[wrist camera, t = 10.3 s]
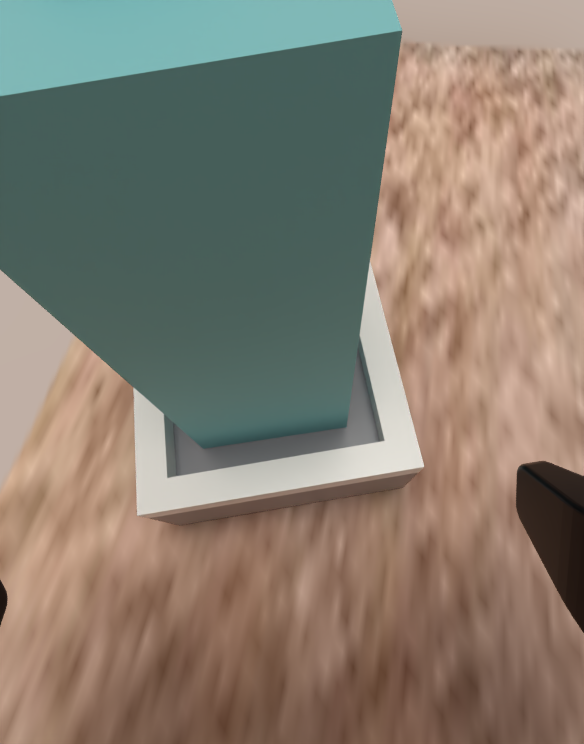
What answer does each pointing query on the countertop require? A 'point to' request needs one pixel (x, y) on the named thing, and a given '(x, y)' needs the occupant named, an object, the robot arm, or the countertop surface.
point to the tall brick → (201, 195)
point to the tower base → (285, 448)
